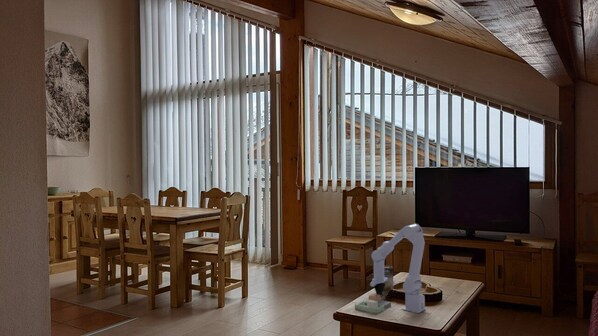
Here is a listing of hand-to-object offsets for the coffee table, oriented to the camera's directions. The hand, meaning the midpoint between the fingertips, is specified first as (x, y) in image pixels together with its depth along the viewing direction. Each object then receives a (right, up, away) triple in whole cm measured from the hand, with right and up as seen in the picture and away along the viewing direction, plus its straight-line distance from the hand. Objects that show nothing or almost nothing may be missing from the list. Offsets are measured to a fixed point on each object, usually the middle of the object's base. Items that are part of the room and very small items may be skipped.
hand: (379, 296), depth 274 cm
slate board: (-2, -3, -6) cm, 7 cm away
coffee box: (+6, -3, +14) cm, 15 cm away
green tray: (-7, -4, -12) cm, 14 cm away
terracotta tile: (-3, -1, -3) cm, 5 cm away
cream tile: (-5, -1, -13) cm, 14 cm away
